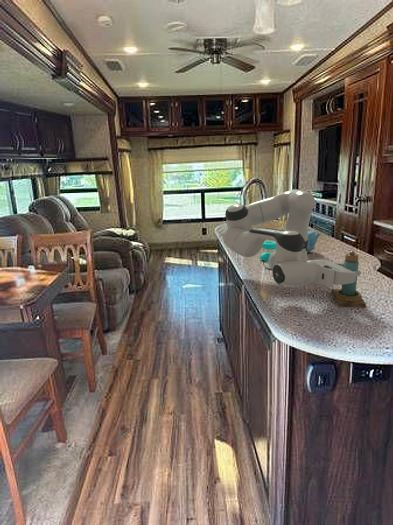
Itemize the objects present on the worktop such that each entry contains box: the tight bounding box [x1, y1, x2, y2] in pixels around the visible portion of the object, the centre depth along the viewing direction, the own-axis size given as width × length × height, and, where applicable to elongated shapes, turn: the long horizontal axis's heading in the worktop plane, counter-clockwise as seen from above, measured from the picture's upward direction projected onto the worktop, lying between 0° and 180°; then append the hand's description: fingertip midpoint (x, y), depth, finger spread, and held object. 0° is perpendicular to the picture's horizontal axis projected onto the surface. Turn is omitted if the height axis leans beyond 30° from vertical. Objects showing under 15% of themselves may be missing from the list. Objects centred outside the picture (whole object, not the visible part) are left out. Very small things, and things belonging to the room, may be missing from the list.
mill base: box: [330, 288, 367, 309], centre depth 135 cm, size 10×15×3 cm, turn 168°
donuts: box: [259, 240, 276, 262], centre depth 195 cm, size 10×10×10 cm
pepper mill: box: [341, 250, 360, 296], centre depth 132 cm, size 5×5×18 cm
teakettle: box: [307, 227, 324, 254], centre depth 210 cm, size 19×19×15 cm
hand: (351, 269), depth 132 cm, fingers open, 8 cm apart
